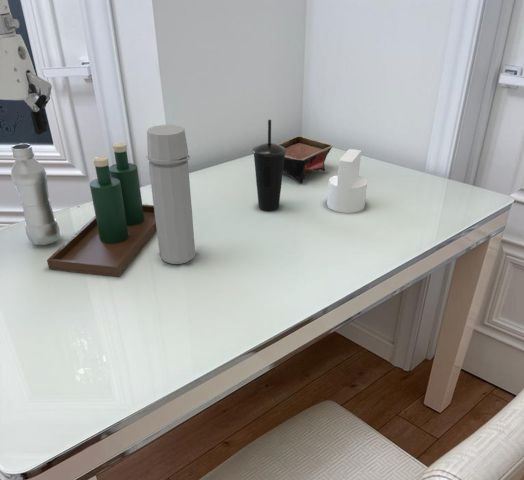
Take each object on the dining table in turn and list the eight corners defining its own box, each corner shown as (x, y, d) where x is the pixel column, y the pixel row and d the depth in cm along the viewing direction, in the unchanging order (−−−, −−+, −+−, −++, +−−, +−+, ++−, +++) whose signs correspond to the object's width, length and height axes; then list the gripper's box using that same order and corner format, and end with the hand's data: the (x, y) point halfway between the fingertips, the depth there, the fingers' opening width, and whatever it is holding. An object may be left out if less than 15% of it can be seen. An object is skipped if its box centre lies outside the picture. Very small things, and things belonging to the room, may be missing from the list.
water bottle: (188, 268, 108) (177, 137, 93) (152, 263, 110) (135, 133, 95) (206, 248, 115) (197, 123, 100) (171, 243, 117) (158, 120, 102)
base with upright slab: (359, 215, 128) (365, 163, 121) (322, 209, 131) (326, 158, 124) (368, 201, 135) (374, 151, 128) (332, 196, 138) (336, 147, 130)
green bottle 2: (113, 224, 123) (99, 148, 113) (123, 213, 128) (111, 139, 117) (138, 226, 122) (127, 149, 112) (148, 216, 127) (138, 141, 116)
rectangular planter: (335, 178, 153) (339, 140, 148) (296, 186, 141) (299, 145, 136) (294, 171, 161) (297, 134, 156) (254, 177, 149) (255, 138, 144)
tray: (49, 269, 108) (46, 259, 106) (111, 210, 131) (110, 201, 130) (118, 277, 105) (116, 267, 104) (170, 215, 128) (169, 206, 127)
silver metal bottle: (35, 235, 120) (10, 141, 108) (66, 235, 120) (44, 141, 108) (24, 248, 115) (-4, 151, 103) (56, 249, 115) (32, 152, 102)
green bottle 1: (95, 242, 116) (79, 162, 106) (107, 230, 121) (93, 152, 110) (122, 244, 115) (108, 164, 105) (133, 232, 120) (121, 154, 109)
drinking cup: (291, 208, 131) (294, 121, 119) (264, 216, 128) (265, 126, 116) (272, 198, 136) (273, 113, 124) (246, 205, 133) (245, 118, 121)
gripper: (48, 24, 95) (70, 127, 105) (-41, 23, 97) (-11, 123, 108) (24, 30, 89) (50, 139, 99) (-70, 28, 92) (-35, 134, 102)
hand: (18, 131), depth 103 cm, fingers open, 9 cm apart
